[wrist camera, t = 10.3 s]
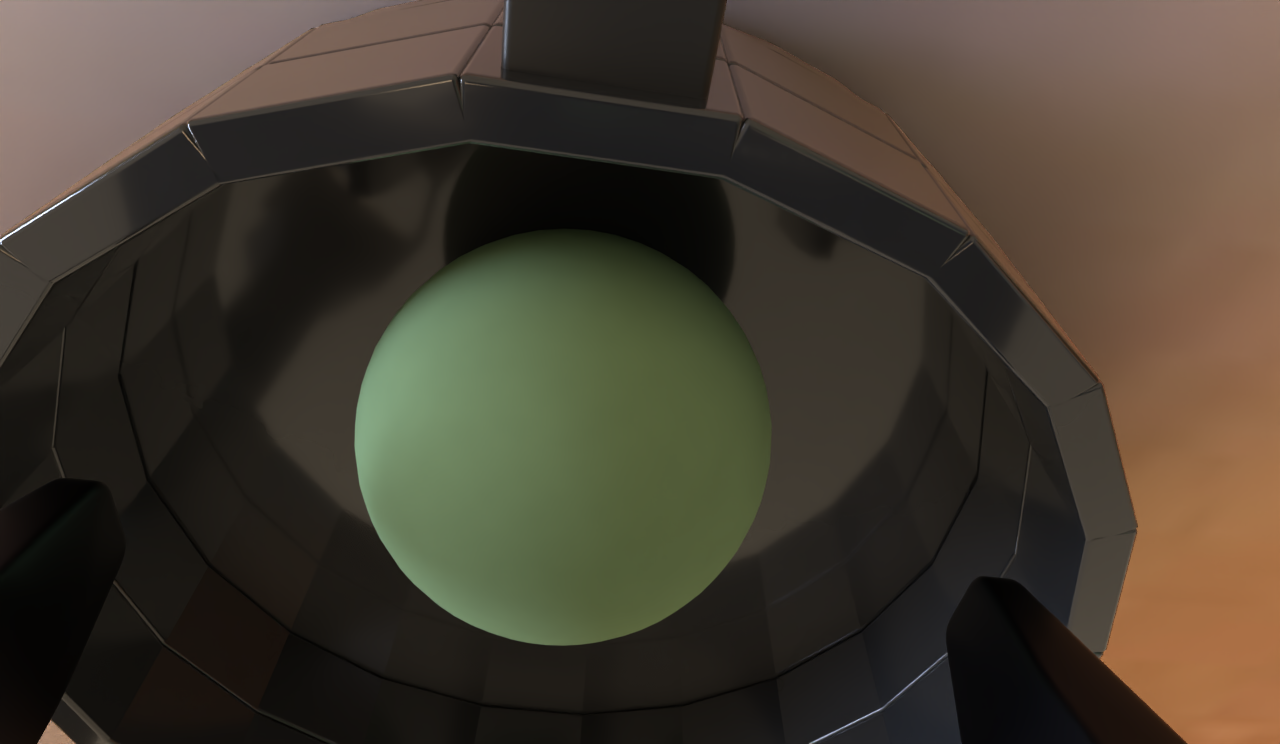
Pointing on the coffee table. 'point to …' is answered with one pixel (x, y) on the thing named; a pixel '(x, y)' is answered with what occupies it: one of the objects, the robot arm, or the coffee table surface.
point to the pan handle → (616, 42)
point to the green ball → (563, 437)
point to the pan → (408, 257)
